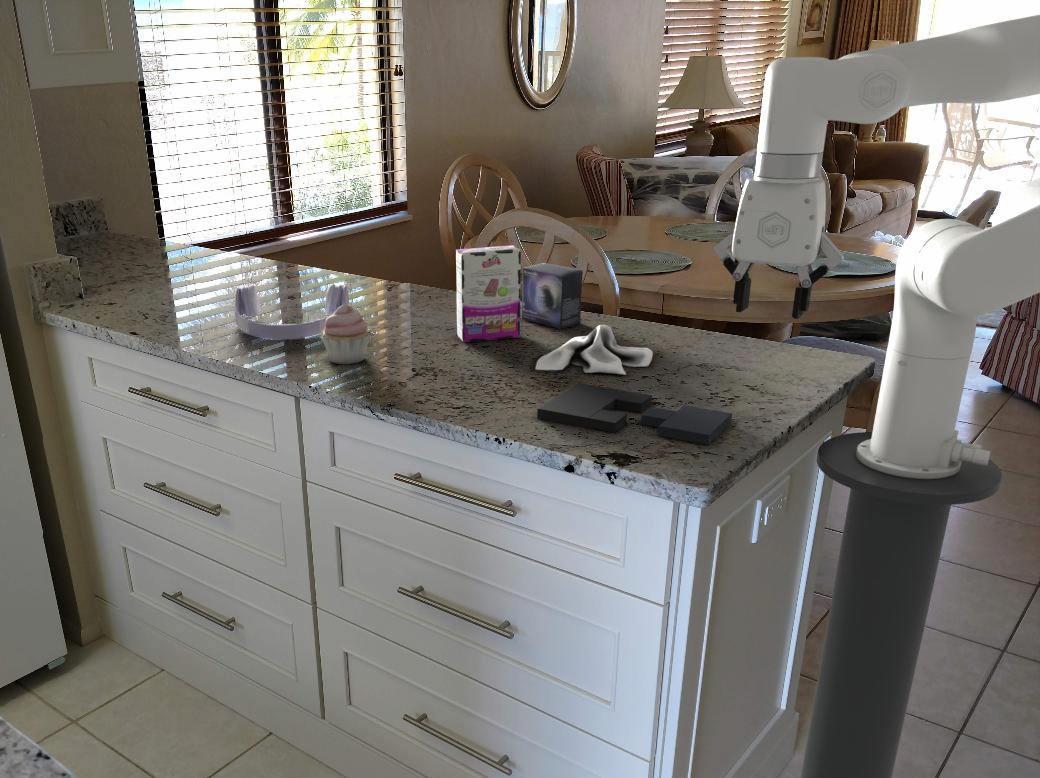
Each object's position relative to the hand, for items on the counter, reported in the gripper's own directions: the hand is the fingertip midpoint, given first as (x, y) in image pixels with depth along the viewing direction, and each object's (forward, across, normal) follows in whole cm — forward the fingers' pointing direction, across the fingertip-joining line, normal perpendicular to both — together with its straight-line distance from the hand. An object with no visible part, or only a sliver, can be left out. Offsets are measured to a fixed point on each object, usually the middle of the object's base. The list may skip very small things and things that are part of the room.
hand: (769, 312), depth 127 cm
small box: (+18, -52, +44) cm, 70 cm away
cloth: (+18, -34, +24) cm, 45 cm away
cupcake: (+18, -71, +3) cm, 73 cm away
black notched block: (+18, -23, 0) cm, 29 cm away
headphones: (+18, -95, +16) cm, 98 cm away
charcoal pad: (+18, -10, 0) cm, 20 cm away
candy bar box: (+18, -57, +28) cm, 66 cm away
